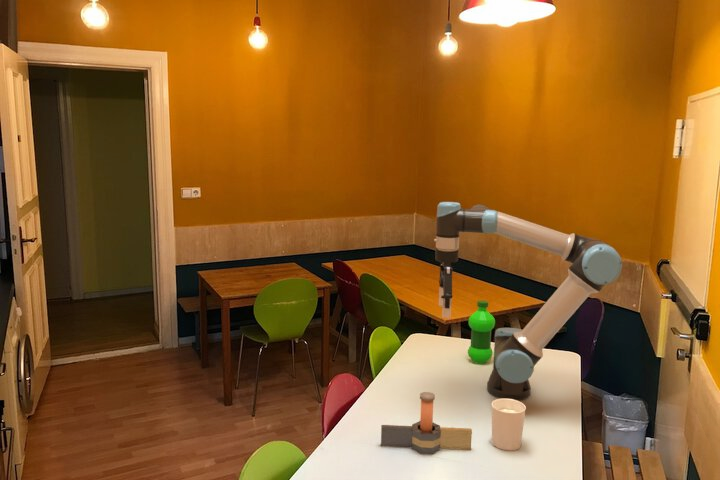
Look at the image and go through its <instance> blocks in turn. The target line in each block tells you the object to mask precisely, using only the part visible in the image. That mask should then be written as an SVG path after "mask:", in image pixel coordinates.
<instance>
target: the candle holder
mask: <svg viewBox="0 0 720 480" xmlns="http://www.w3.org/2000/svg"><path fill="white" fill-rule="evenodd" d="M526 410H527V407H526V404H524V403H523V402H522V401H519V400H513V399H506V398H497V399H494V400H493V401H492V402H491V443H492V445H493V446H494V447H496V448H497V449H499V450H503V451H516V450H518V449H520V448H521V446H522V441H523V440H522V439H523V434H524V433H523V432H524V423H525V419H526V418H525V416H526Z"/></svg>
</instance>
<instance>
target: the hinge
mask: <svg viewBox="0 0 720 480" xmlns="http://www.w3.org/2000/svg"><path fill="white" fill-rule="evenodd" d="M380 427H381V430H380V431H381V432H380V435H381V437H380V447H393V448H395V447H397V448H411V450H413V451H414V452H417V453H418V454H419V455H434V454H435V453H438V452H440V451H441V449H444V450H461V451H462V450H464V451H466V450H468V451H471V450H472V435H473V434H472V433H473V429H472V428H467V427H444V426H443V427H441V425H440V424H437V423H435V422H432V432H423V431H421V430H420V420H419V421H417V422H414V423H412V424H411V425H398V424H397V425H395V424H394V425H393V424H381V426H380Z"/></svg>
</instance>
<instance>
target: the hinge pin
mask: <svg viewBox="0 0 720 480" xmlns="http://www.w3.org/2000/svg"><path fill="white" fill-rule="evenodd" d="M435 397H436V395H435V393H433V392H430V391H423V392H421V393H420V394H419V399H420V418H419V421H420V430H421V431H423V432H432V422H433V420H434V419H433V417H434V416H433V415H434V414H433V413H434V401H435ZM433 423H434V422H433Z"/></svg>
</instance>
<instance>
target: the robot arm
mask: <svg viewBox="0 0 720 480" xmlns="http://www.w3.org/2000/svg"><path fill="white" fill-rule="evenodd" d="M435 226H436V229H435V230H436V231H435V234H436V236H435V238H434V239H433V242H435V248H436V249H435V253H434V254H435V258H434V259H435V261H436V262H439V263H440V265H439V281H438V283H439V290H438V291H439V293H438V307H442V308H441V309H442V310H441V318H445V319H446V318H447V319H451V318H452V317H451V316H452V315H451V314H452V298H453V296H454V295H453V271H454V270H453V265H452V263H457V262H458V261H459V248H460V232H461V233H473V234H474V233H477V234H495V235H499V236H502V237H504V238H507V239H510V240H513V241H516V242H518V243H519V242H520V243H522V244H525V245H529V246H531V247H532V248H537V249H539V250H542V251H546V252H548V253H551V254H554V255H557V256H560V257H561V259H562V261H566V262H569V263H570V264H571V265H570V266H569V267H568V268H567V271H568V272H567V273H568V276H567V277H566V278H565V280H564V281H563V282H562V283H561V284H560V286H558V288H557V289H556V290H555V291H554V292H553V294H552V295H551V296H550V297H549V298H548V299H547V301H546V302H545V303H544V304H543V305H542V306H541V307H540V309H539V310H538V312H536V314H535V315H534V316H533V317H532V319H531V320H530V321H529V322H528V323H527V324H526V325H525V326H524V328H523V329H521V328H516V327H500V328H496V329H495V332H494V335H493V337H494V346H493V348H494V349H493V363H492V364H493V365H492V367H493V368H492V371H491V373H490V376H489V377H488V381H487V383H486V384H487V386H486V391H487V392H488V393H489V394H491V395H492V396H494V397H496V398H498V399H502V398H506V399H513V400H517V401H519V400H525V399H527V398H529V397H530V396H531V393H532V392H531V389H532V388H531V385H530V381H529V379H530V378H531V377H532V376H533V373H534V370H535V366H536V365H537V364H538V362H539V361H540V360H541V359H542V358H543V356H544V355H543V354H544V353H543V349H544V348H545V347H546V346H547V345H548V344H549V342H550V341H551V340H552V339H553V338H554V337H555V335H556V334H557V333H558V332H559V331H560V330H561V329H562V328H563V326H564V325H565V324H566V322H567V321H568V320H569V319H570V318H571V317H572V316H573V315H574V314H575V313H576V311H577V310H578V309H579V308H580V306H582V304H583V303H584V302H585V301H586V300H587V299H588V298H589V296H590V295H591V294H596V293H600V292H601V291H602V290H603V288H604V287H605V286H606V285H608V284H610V283H613V282H614V281H616V280H617V279H618V278H619V276H620V275H621V272H622V269H623V262H622V257H621V256H620V254H619V253H618V251H617V250H616V249H615V248H614V247H612V246H611V245H609V244H608V243H606V242H605V241H603V240H601V239H597V238H593V237H587V236H583V235H580V234H576V233H574V232H572V233H570V234H567V233H564V232H561V231H558V230H555V229H552V228H549V227H547V226H543V225H540V224H537V223H535V222H530V221H528V220H526V219H522V218H519V217H516V216H513V215H510V214H507V213H504V212H500V211H499V210H498V211H497V210H496V209H493V208H489V207H487V206H486V205H482V204H477V205H473V206H472V207H471V208H470V209H468V208H467V209H466V208H462V207H461V203H459V202H456V201H455V202H454V201H441V202H439V204H437V211H436V225H435Z"/></svg>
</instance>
